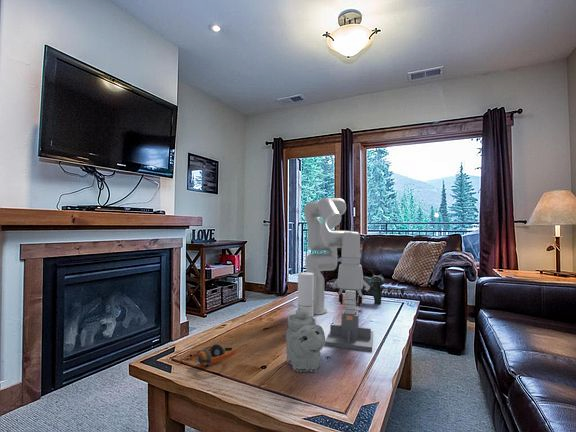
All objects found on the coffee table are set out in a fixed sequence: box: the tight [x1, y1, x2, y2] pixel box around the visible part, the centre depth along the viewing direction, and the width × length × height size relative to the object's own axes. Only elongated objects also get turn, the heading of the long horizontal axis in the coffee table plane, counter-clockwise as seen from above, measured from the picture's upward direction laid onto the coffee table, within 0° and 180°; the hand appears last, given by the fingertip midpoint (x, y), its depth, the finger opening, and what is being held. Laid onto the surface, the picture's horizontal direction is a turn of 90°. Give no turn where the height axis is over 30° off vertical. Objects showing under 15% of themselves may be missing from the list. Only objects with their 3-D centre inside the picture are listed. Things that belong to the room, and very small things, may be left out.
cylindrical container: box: [297, 271, 314, 318], centre depth 141 cm, size 7×7×25 cm
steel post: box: [344, 289, 357, 315], centre depth 128 cm, size 4×4×18 cm
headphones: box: [178, 343, 237, 367], centre depth 107 cm, size 17×5×20 cm
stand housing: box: [324, 309, 374, 352], centre depth 128 cm, size 18×18×11 cm
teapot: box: [285, 306, 326, 373], centre depth 103 cm, size 16×15×19 cm
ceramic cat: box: [352, 269, 385, 305], centre depth 190 cm, size 20×6×20 cm, turn 58°
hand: (350, 304), depth 128 cm, fingers open, 6 cm apart
